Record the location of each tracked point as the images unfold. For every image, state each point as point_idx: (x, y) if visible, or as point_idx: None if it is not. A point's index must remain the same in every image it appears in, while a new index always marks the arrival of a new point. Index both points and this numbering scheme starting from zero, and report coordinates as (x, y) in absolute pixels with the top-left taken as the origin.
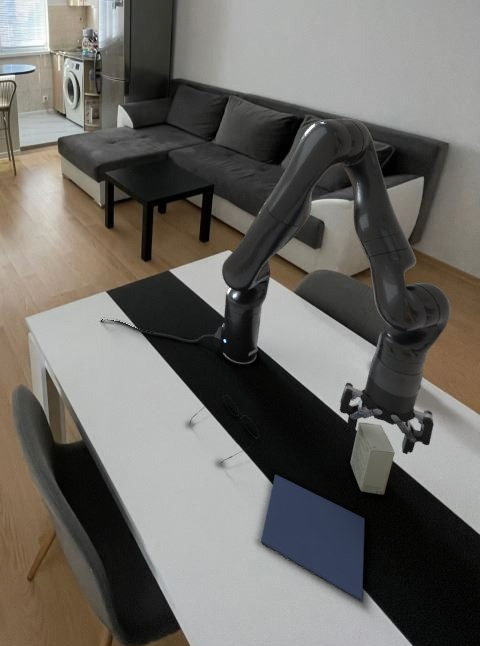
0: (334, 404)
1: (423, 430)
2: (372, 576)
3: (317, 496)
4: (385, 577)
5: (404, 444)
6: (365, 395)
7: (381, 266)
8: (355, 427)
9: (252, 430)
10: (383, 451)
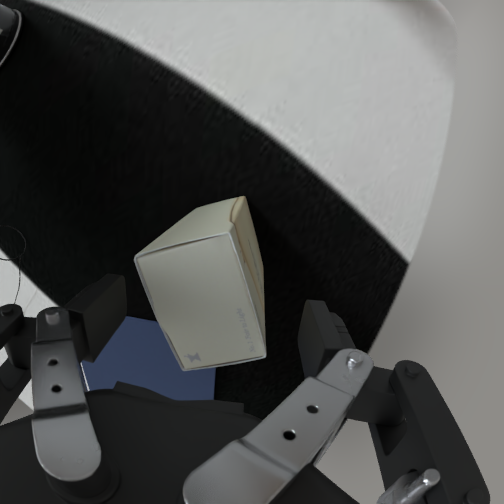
0: (169, 42)
1: (385, 484)
2: (226, 398)
3: (136, 321)
4: (244, 394)
5: (305, 357)
6: None
7: None
8: (108, 338)
9: (21, 223)
10: (225, 361)
